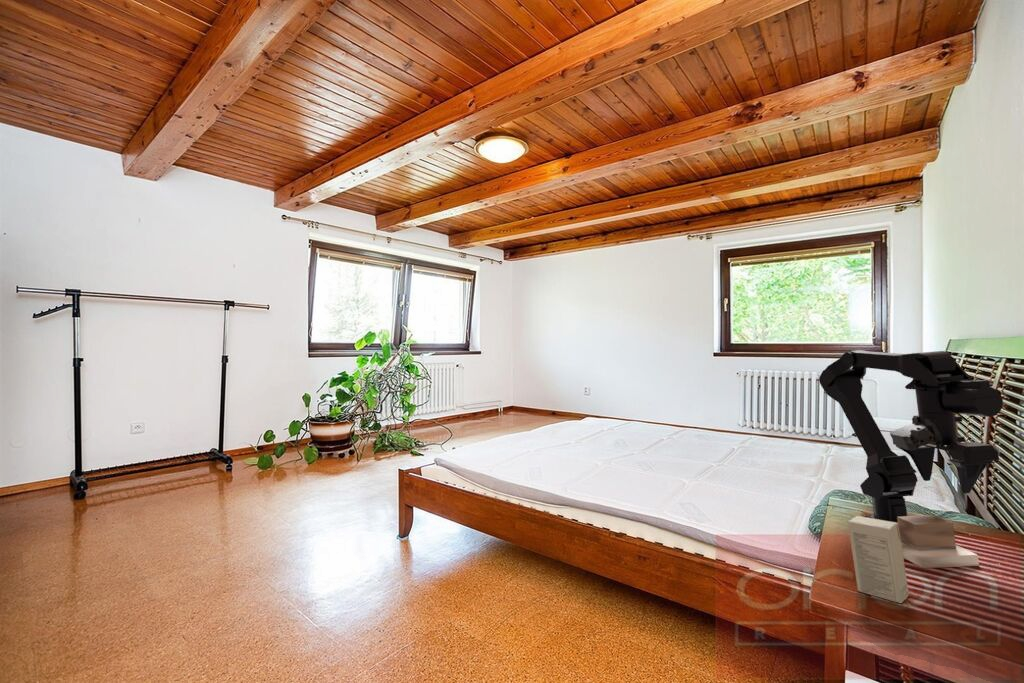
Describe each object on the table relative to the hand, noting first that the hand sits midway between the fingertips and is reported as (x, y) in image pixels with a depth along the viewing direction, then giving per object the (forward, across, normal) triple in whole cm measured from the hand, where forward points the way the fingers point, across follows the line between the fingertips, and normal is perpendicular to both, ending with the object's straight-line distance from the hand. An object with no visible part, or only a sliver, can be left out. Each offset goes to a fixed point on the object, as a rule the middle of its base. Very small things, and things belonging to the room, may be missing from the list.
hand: (945, 486), depth 93 cm
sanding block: (+10, +4, -8) cm, 13 cm away
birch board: (+12, +4, -8) cm, 15 cm away
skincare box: (+12, +17, -26) cm, 33 cm away
